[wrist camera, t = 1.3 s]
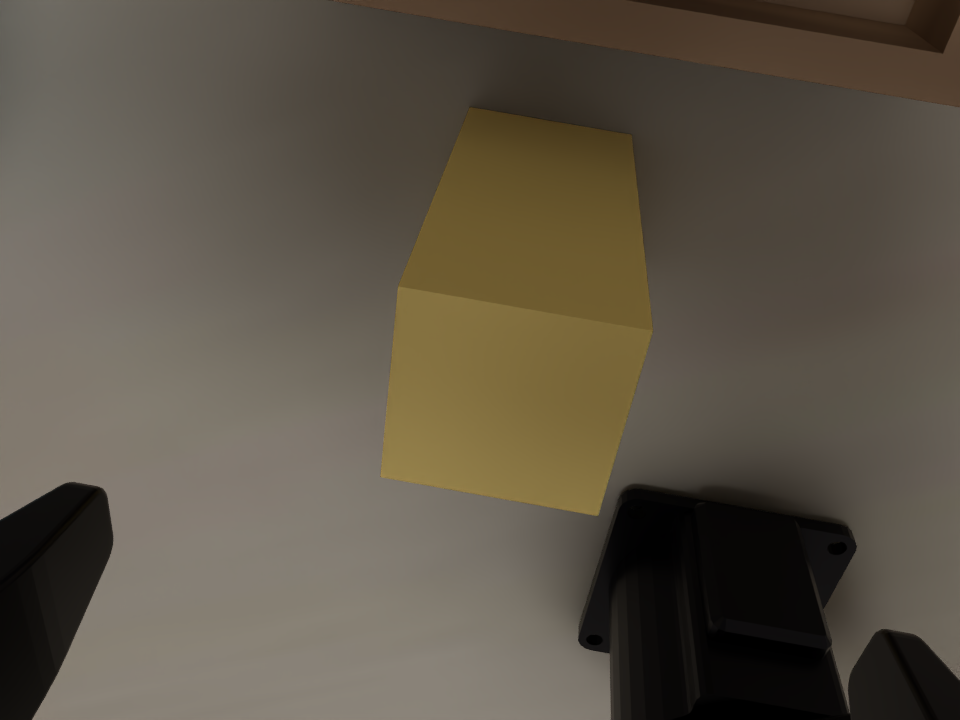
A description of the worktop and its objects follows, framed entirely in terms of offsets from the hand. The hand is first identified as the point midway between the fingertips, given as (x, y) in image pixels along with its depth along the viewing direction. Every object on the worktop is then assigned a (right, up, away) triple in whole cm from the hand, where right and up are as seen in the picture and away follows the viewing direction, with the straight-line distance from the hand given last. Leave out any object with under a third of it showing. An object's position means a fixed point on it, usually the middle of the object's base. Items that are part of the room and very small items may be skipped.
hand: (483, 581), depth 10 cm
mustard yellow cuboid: (+1, +6, +9) cm, 11 cm away
